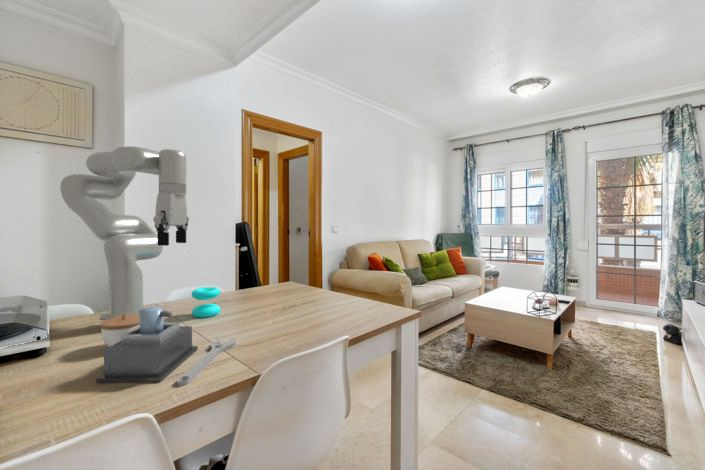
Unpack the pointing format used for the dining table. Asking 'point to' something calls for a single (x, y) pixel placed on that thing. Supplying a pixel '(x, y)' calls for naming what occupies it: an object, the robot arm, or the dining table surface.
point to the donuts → (206, 309)
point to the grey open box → (147, 355)
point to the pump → (152, 320)
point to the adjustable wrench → (205, 361)
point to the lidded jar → (118, 328)
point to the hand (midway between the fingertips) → (172, 244)
